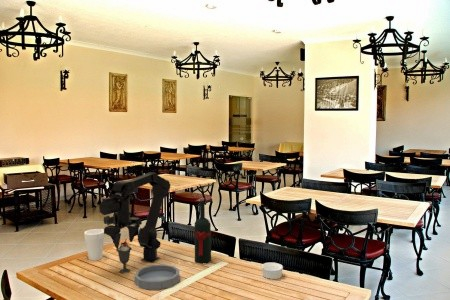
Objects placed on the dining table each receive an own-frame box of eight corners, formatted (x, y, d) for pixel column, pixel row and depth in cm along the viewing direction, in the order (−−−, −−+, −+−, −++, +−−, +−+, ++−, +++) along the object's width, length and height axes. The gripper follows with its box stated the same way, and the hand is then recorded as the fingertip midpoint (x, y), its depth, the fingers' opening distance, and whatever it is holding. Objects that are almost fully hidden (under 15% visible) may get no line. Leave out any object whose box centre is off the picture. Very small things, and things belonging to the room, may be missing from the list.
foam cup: (98, 253, 194) (97, 227, 193) (109, 256, 188) (108, 230, 187) (81, 258, 186) (80, 232, 185) (92, 262, 181) (91, 235, 180)
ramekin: (285, 273, 166) (285, 264, 166) (279, 281, 158) (279, 271, 158) (265, 270, 170) (265, 261, 169) (258, 278, 162) (258, 268, 161)
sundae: (128, 274, 167) (127, 240, 165) (114, 273, 168) (113, 239, 167) (135, 268, 173) (134, 236, 172) (121, 267, 174) (120, 235, 173)
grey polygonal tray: (152, 269, 173) (152, 262, 172) (187, 275, 165) (187, 268, 165) (126, 284, 156) (125, 277, 156) (163, 293, 149) (162, 285, 148)
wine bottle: (192, 265, 176) (191, 200, 174) (196, 257, 186) (195, 196, 184) (209, 266, 175) (208, 201, 173) (212, 258, 185) (211, 196, 183)
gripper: (122, 204, 180) (123, 236, 182) (93, 213, 164) (94, 248, 165) (142, 206, 175) (143, 239, 177) (113, 215, 159) (115, 252, 160)
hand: (124, 244), depth 170 cm, fingers open, 9 cm apart
